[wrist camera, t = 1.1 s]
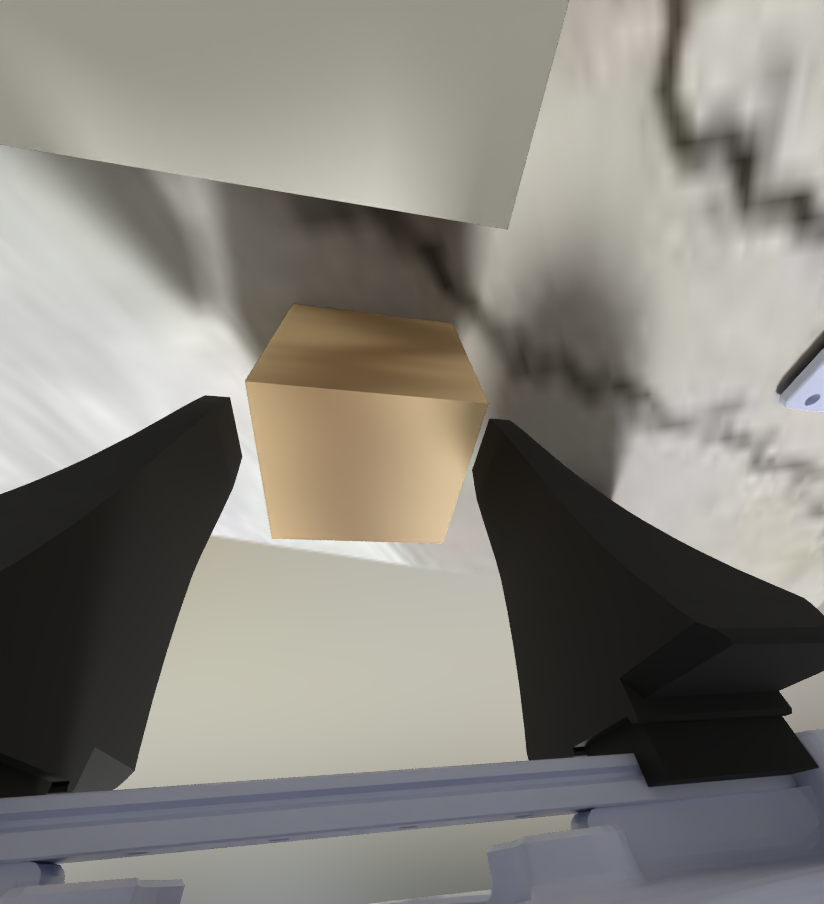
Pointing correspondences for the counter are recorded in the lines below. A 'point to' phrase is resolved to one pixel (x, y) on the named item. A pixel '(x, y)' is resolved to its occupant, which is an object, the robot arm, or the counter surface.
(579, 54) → the counter surface
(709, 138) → the counter surface
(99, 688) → the robot arm
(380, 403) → the oak block
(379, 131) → the base block
